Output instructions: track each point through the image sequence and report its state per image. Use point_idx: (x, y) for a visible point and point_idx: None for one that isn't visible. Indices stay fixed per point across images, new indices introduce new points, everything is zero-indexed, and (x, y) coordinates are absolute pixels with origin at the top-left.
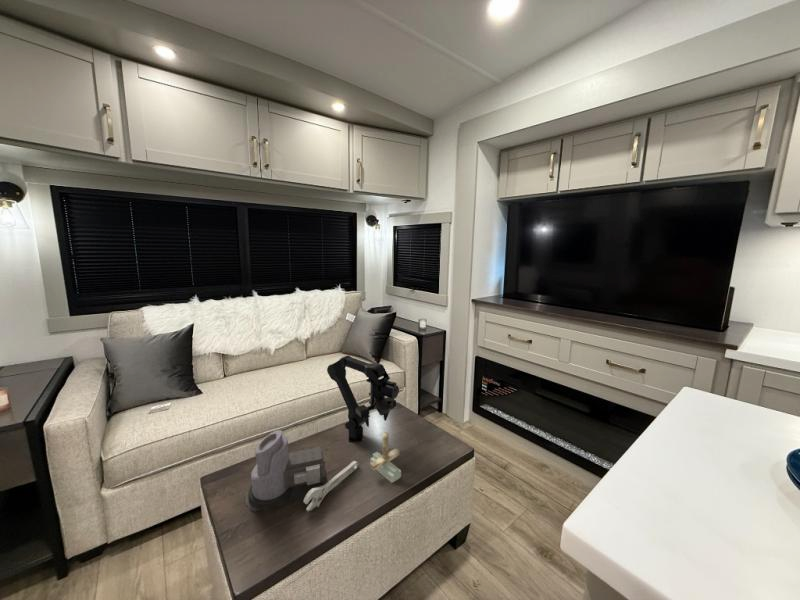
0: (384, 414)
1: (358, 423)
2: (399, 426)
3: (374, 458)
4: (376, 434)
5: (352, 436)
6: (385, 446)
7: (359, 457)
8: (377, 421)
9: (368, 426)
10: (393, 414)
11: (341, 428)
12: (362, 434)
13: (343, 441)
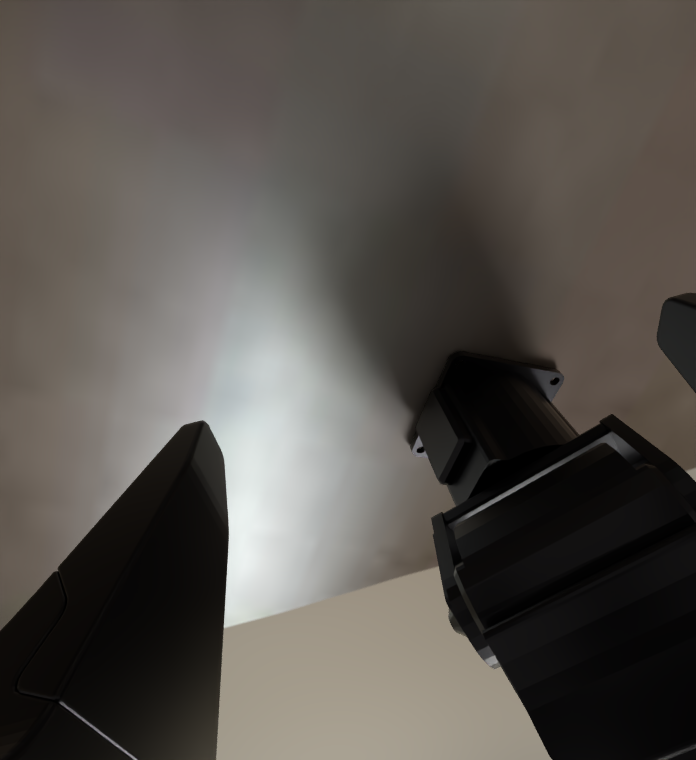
0: (201, 586)
1: (657, 473)
2: (13, 467)
3: None
4: (285, 405)
5: (544, 399)
6: None
7: (590, 90)
8: (230, 552)
9: (688, 297)
10: None
11: None
12: (447, 405)
13: (591, 384)
